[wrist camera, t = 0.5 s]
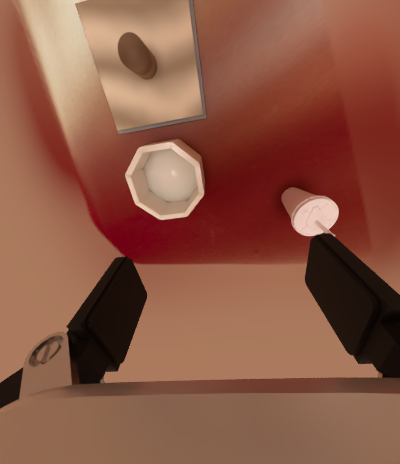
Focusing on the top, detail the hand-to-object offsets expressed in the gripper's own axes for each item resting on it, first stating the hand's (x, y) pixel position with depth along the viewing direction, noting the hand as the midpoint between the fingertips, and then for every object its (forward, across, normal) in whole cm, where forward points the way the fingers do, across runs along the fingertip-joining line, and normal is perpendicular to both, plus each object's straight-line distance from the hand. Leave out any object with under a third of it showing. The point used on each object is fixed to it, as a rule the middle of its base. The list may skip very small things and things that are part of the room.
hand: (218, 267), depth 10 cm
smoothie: (+28, -14, +8) cm, 32 cm away
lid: (+27, +7, -15) cm, 32 cm away
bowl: (+28, +8, 0) cm, 29 cm away
